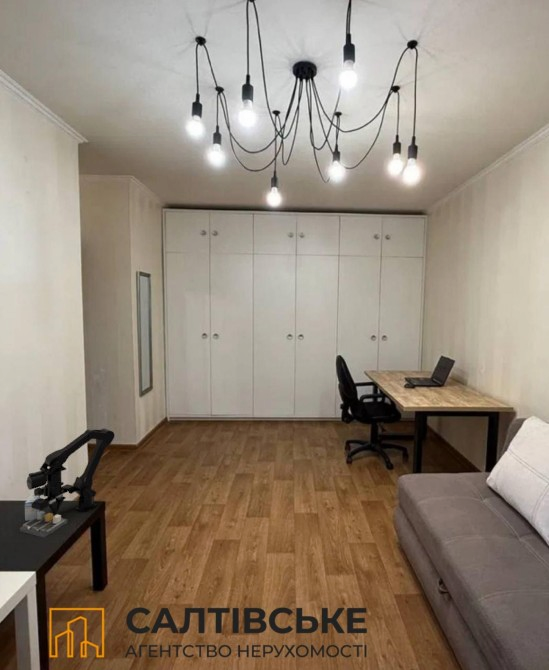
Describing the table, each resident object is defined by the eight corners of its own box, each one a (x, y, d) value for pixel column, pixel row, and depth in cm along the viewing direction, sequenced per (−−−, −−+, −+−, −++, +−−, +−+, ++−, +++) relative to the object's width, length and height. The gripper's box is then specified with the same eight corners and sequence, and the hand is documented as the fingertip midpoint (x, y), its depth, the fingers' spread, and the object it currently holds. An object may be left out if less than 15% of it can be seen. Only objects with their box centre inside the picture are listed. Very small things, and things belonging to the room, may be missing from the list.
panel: (44, 516, 171) (44, 511, 171) (67, 522, 167) (67, 517, 167) (19, 531, 160) (19, 525, 160) (44, 537, 156) (43, 532, 156)
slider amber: (50, 517, 168) (49, 512, 168) (54, 518, 167) (53, 513, 167) (44, 521, 165) (44, 515, 165) (48, 522, 164) (48, 516, 164)
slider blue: (42, 515, 169) (42, 510, 169) (46, 516, 168) (46, 511, 168) (36, 519, 166) (36, 513, 166) (40, 520, 166) (40, 514, 165)
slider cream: (57, 519, 166) (57, 513, 166) (62, 520, 166) (61, 514, 165) (52, 523, 163) (52, 517, 163) (56, 524, 163) (56, 518, 163)
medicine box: (29, 512, 175) (29, 495, 175) (40, 510, 177) (39, 493, 176) (24, 521, 168) (24, 503, 167) (36, 519, 169) (35, 501, 169)
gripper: (58, 470, 179) (58, 501, 180) (21, 487, 161) (22, 521, 162) (76, 474, 176) (76, 505, 177) (40, 491, 158) (41, 526, 159)
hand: (54, 514), depth 169 cm, fingers closed
